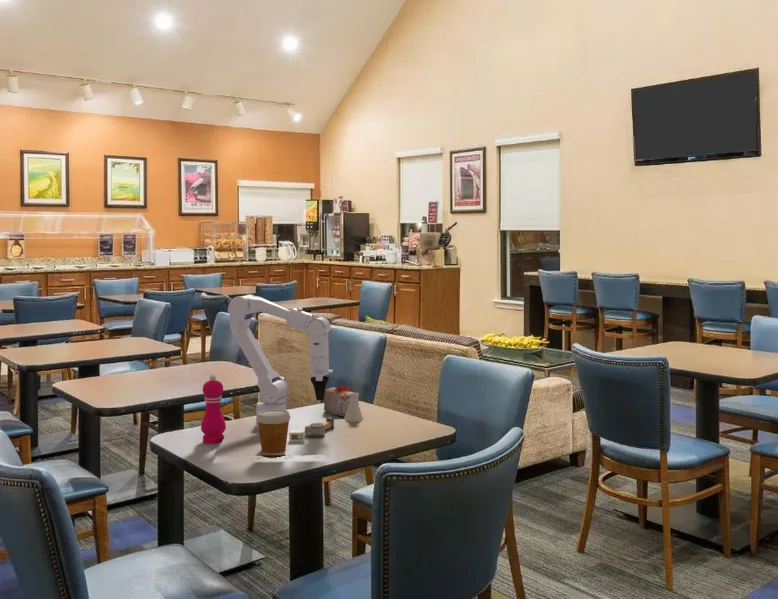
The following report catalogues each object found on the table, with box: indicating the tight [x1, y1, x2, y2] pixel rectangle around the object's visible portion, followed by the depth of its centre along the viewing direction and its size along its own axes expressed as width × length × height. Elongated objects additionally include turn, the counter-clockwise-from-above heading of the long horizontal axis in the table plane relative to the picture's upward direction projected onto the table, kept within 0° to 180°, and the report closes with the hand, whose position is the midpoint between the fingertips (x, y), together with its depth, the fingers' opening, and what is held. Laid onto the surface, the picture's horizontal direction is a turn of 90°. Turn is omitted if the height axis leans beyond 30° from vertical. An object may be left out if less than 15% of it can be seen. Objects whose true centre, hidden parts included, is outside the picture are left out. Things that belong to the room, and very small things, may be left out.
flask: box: [343, 392, 364, 423], centre depth 251 cm, size 7×7×10 cm
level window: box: [288, 429, 306, 443], centre depth 224 cm, size 4×3×3 cm
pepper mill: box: [200, 374, 227, 445], centre depth 228 cm, size 7×7×20 cm
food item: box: [323, 385, 360, 418], centre depth 265 cm, size 14×8×10 cm, turn 40°
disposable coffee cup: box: [255, 409, 292, 459], centre depth 215 cm, size 10×10×12 cm
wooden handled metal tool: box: [304, 416, 335, 439], centre depth 234 cm, size 15×6×3 cm, turn 159°
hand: (320, 399), depth 239 cm, fingers closed
